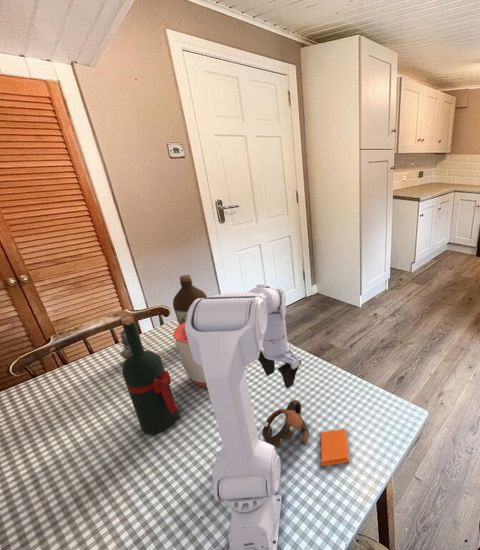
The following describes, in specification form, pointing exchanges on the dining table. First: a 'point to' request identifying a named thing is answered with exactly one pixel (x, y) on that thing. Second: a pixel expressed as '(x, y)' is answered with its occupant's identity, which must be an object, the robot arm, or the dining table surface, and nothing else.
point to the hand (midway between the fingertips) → (279, 379)
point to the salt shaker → (125, 346)
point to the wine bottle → (148, 384)
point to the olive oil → (186, 298)
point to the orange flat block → (334, 447)
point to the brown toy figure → (286, 425)
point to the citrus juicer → (188, 357)
